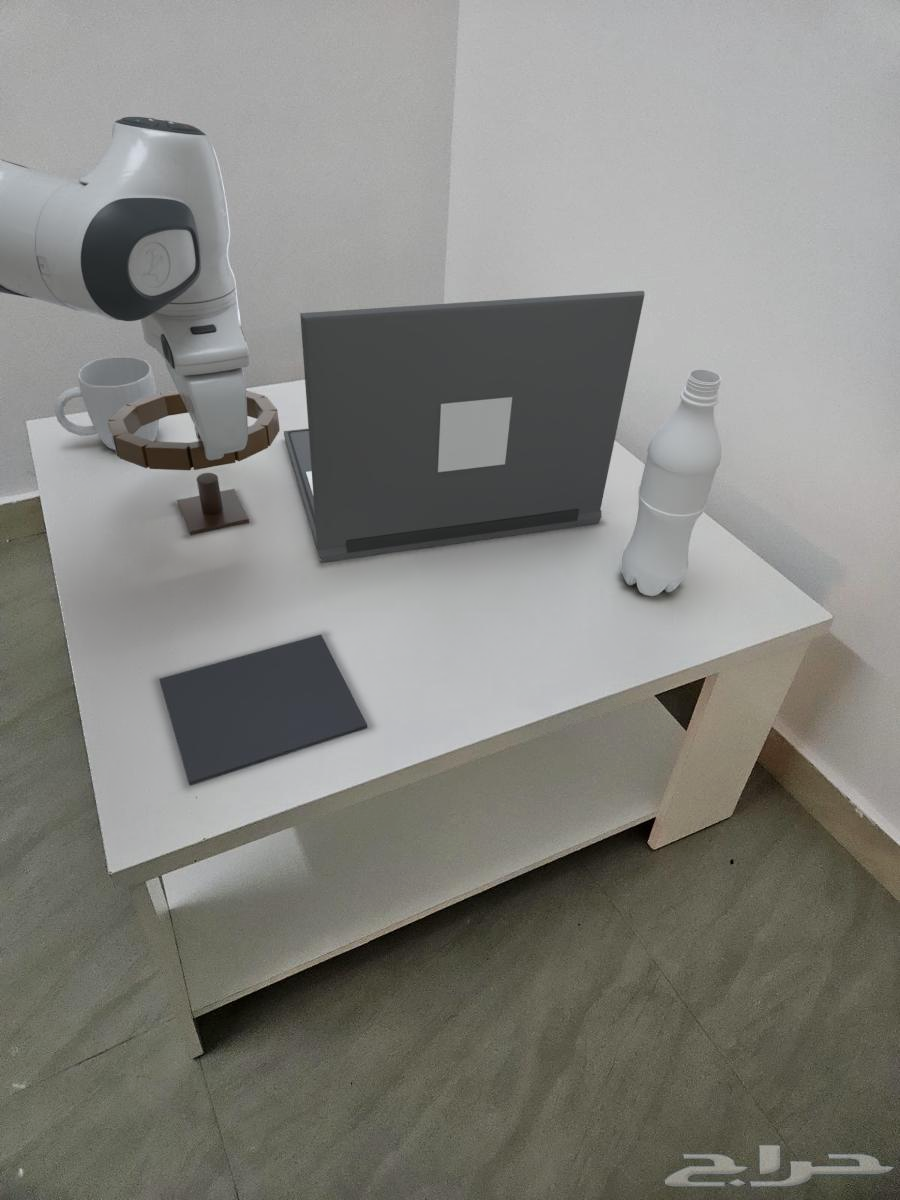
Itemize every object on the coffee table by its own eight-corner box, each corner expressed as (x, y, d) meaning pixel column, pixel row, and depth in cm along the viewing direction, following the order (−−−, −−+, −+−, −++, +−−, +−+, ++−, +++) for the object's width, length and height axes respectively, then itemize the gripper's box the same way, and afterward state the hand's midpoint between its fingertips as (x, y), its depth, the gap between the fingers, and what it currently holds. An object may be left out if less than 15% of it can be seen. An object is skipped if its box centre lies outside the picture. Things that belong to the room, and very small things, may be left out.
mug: (161, 420, 115) (147, 352, 108) (169, 451, 108) (155, 381, 102) (64, 432, 111) (44, 363, 104) (67, 466, 105) (45, 394, 98)
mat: (189, 785, 69) (189, 782, 69) (160, 681, 77) (159, 678, 77) (367, 727, 74) (367, 724, 74) (321, 636, 83) (321, 634, 83)
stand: (190, 535, 95) (182, 499, 92) (177, 504, 100) (170, 468, 96) (249, 522, 97) (244, 487, 94) (234, 492, 102) (229, 457, 99)
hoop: (126, 482, 81) (121, 460, 80) (104, 420, 94) (100, 400, 93) (297, 451, 88) (294, 430, 86) (254, 397, 101) (252, 378, 99)
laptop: (522, 417, 120) (546, 213, 102) (600, 523, 101) (647, 294, 82) (284, 441, 112) (264, 223, 93) (319, 563, 92) (302, 317, 74)
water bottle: (604, 577, 93) (650, 371, 76) (644, 554, 96) (696, 353, 80) (654, 611, 89) (714, 401, 72) (693, 585, 92) (759, 380, 76)
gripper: (135, 282, 81) (159, 408, 90) (178, 367, 67) (202, 506, 76) (199, 276, 83) (216, 400, 92) (253, 356, 70) (268, 493, 79)
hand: (210, 449), depth 84 cm, fingers closed on hoop, 2 cm apart
